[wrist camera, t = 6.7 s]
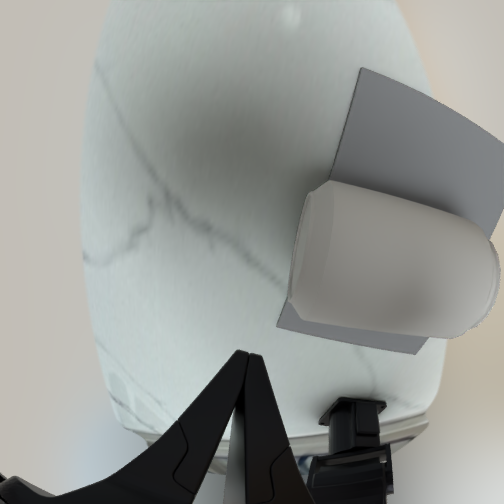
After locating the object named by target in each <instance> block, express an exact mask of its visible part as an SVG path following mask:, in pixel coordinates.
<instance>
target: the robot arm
mask: <svg viewBox="0 0 504 504" xmlns="http://www.w3.org/2000/svg"><path fill="white" fill-rule="evenodd" d="M386 407H387V405H386V403H385V402H375V401H365V400H356V399H347V398H340V399H338V400H337V401H336V402H335V404H334V405H333V406H332V407H331V408H330V409H329V410H328V411H327V412H326V413H325V415H324V416H323V417H322V418H321V419H320V420H319V425H323V426H329V455H326V456H313V459H312V461H311V465H310V470H309V475H308V480H307V484H305V482H304V480H303V478H302V476H301V474H300V471H299V469H298V466H297V464H296V461H295V458H294V455H293V452H292V449H291V447H290V446H289V445H290V443H289V440H288V437H287V434H286V431H285V428H284V424H283V421H282V418H281V415H280V412H279V409H278V405H277V402H276V399H275V396H274V393H273V389H272V386H271V383H270V380H269V376H268V373H267V370H266V366H265V363H264V360H263V357H262V356H261V355H258V354H254V353H250V354H249V353H248V352H246V351H242V350H236V351H235V352H234V354H233V355H232V356H231V357H230V358H229V360H228V361H227V362H226V363H225V364H224V366H223V367H222V368H221V369H220V370H219V372H218V373H217V374H216V375H215V376H214V378H213V379H212V380H211V381H210V382H209V384H208V385H207V386H206V387H205V388H204V389H203V391H202V392H201V393H200V394H199V395H198V396H197V398H196V399H195V400H194V401H193V402H192V403H191V404H190V406H189V407H188V408H187V409H186V410H185V411H184V412H183V414H182V415H181V416H180V417H179V418H178V421H175V422H174V423H173V425H172V426H171V427H170V428H169V429H168V430H167V431H166V432H165V433H164V434H163V435H162V436H161V437H160V438H159V439H158V440H157V441H156V442H155V443H153V444H152V445H151V446H150V447H149V448H148V449H146V450H145V451H144V452H143V453H141V454H140V455H139V456H138V457H136V458H135V459H133V460H132V461H131V462H129V463H128V464H127V465H125V466H124V467H123V468H121V469H120V470H119V471H117V472H116V473H114V474H112V475H111V476H109V477H107V478H106V479H103V480H101V481H99V482H96V483H93V484H91V485H88V486H85V487H83V488H80V489H77V490H74V491H71V492H68V493H65V494H62V495H59V496H55V495H53V494H50V493H48V492H46V491H44V490H42V489H40V488H38V487H36V486H34V485H32V484H30V483H29V482H27V481H25V480H23V479H21V478H20V477H17V476H12V477H11V478H9V479H7V478H6V477H5V476H3V475H2V474H1V473H0V504H193V502H194V500H195V497H196V495H197V493H198V491H199V489H200V487H201V484H202V482H203V480H204V478H205V475H206V473H207V471H208V469H209V466H210V464H211V462H212V460H213V457H214V455H215V453H216V450H217V448H218V446H219V443H220V441H221V439H222V436H223V434H224V432H225V429H226V427H227V424H228V422H229V420H230V417H231V415H232V412H233V418H232V427H231V436H230V445H229V454H228V463H227V472H226V481H225V491H224V499H223V504H387V495H389V494H393V493H394V489H393V472H392V460H391V449H390V443H387V444H385V445H382V446H380V436H379V433H380V426H379V418H378V414H380V413H381V412H382V411H383V410H384V409H385V408H386ZM233 410H234V411H233ZM288 446H289V447H288ZM381 461H387V462H385V463H380V462H381Z"/></svg>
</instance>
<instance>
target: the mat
mask: <svg viewBox="0 0 504 504" xmlns="http://www.w3.org/2000/svg"><path fill="white" fill-rule="evenodd" d="M329 180H332V181H337V182H341V183H345V184H349V185H354V186H358V187H362V188H366V189H370V190H373V191H377V192H381V193H385V194H388V195H392V196H396V197H399V198H403V199H406V200H409V201H413V202H416V203H419V204H423V205H426V206H429V207H432V208H435V209H439V210H442V211H445V212H448V213H451V214H454V215H457V216H459V217H462V218H465V219H468V220H471V221H473V222H474V223H475V224H477V225H478V226H479V227H480V228H482V230H483V232H484V234H485V236H486V237H487V239H488V240H489V239H490V237H491V235H492V233H493V231H494V229H495V227H496V225H497V222H498V220H499V218H500V216H501V213H502V211H503V209H504V143H502V142H501V141H499V140H498V139H497V138H495V137H494V136H493V135H491V134H490V133H488V132H487V131H485V130H484V129H482V128H481V127H480V126H478V125H477V124H475V123H473V122H472V121H470V120H469V119H467V118H466V117H464V116H462V115H461V114H459V113H457V112H456V111H454V110H452V109H451V108H449V107H447V106H445V105H444V104H441V103H440V102H438V101H436V100H434V99H432V98H431V97H429V96H427V95H425V94H423V93H421V92H419V91H417V90H415V89H413V88H410V87H408V86H406V85H404V84H402V83H400V82H397V81H395V80H393V79H390V78H388V77H386V76H383V75H381V74H378V73H376V72H373V71H371V70H368V69H365V68H363V67H362V68H361V69H360V73H359V77H358V81H357V85H356V88H355V92H354V96H353V99H352V103H351V107H350V110H349V114H348V117H347V121H346V124H345V128H344V131H343V135H342V138H341V141H340V145H339V148H338V151H337V154H336V158H335V161H334V164H333V167H332V171H331V174H330V177H329ZM329 180H328V181H329ZM277 327H278V328H282V329H286V330H290V331H294V332H299V333H303V334H307V335H312V336H316V337H321V338H326V339H330V340H335V341H340V342H345V343H350V344H355V345H360V346H366V347H371V348H377V349H382V350H388V351H394V352H400V353H407V354H413V355H416V353H417V352H418V351H419V350H420V348H421V347H422V346H423V345H424V343H425V342H426V341H427V339H428V338H429V337H423V336H413V335H404V334H395V333H387V332H379V331H371V330H364V329H357V328H350V327H343V326H336V325H330V324H323V323H317V322H311V321H305V320H303V319H301V318H300V316H299V315H298V313H297V312H296V310H295V308H294V307H293V305H292V303H290V302H288V297H287V299H286V302H285V305H284V307H283V310H282V312H281V315H280V318H279V320H278V323H277Z"/></svg>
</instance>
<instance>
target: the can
mask: <svg viewBox="0 0 504 504" xmlns="http://www.w3.org/2000/svg"><path fill="white" fill-rule="evenodd" d="M500 271H501V269H500V264H499V257H498V254H497V251H496V250H495V247H494V245H493V244H492V242H491V241H489V240H488V239H487V237H486V236H485V234H484V232H483V230H482V228H480V227H479V226H478V225H477V224H475V223H474V222H473V221H471V220H468V219H465V218H462V217H459V216H457V215H454V214H451V213H448V212H445V211H442V210H439V209H435V208H432V207H429V206H426V205H423V204H419V203H416V202H413V201H409V200H406V199H403V198H399V197H396V196H392V195H388V194H385V193H381V192H377V191H373V190H370V189H366V188H362V187H358V186H354V185H349V184H345V183H341V182H337V181H332V180H329V181H327V182H325V183H324V184H323V185H321V186H320V187H318V188H317V189H316V190H314V191H310V192H309V193H308V195H307V197H306V199H305V203H304V206H303V209H302V213H301V217H300V222H299V226H298V231H297V235H296V240H295V245H294V251H293V256H292V262H291V269H290V275H289V283H288V302H290V303H292V305H293V307H294V308H295V310H296V312H297V313H298V315H299V316H300V318H301V319H303V320H305V321H311V322H317V323H323V324H330V325H336V326H343V327H350V328H357V329H364V330H371V331H379V332H387V333H395V334H404V335H413V336H423V337H433V338H444V339H453V338H455V337H458V336H461V335H463V334H464V333H465V332H466V331H467V330H470V329H472V328H475V327H477V326H478V325H479V324H480V323H481V322H482V321H483V320H484V319H485V318H486V317H487V316H488V314H489V312H490V311H491V309H492V307H493V306H494V303H495V300H496V297H497V294H498V290H499V286H500Z"/></svg>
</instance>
